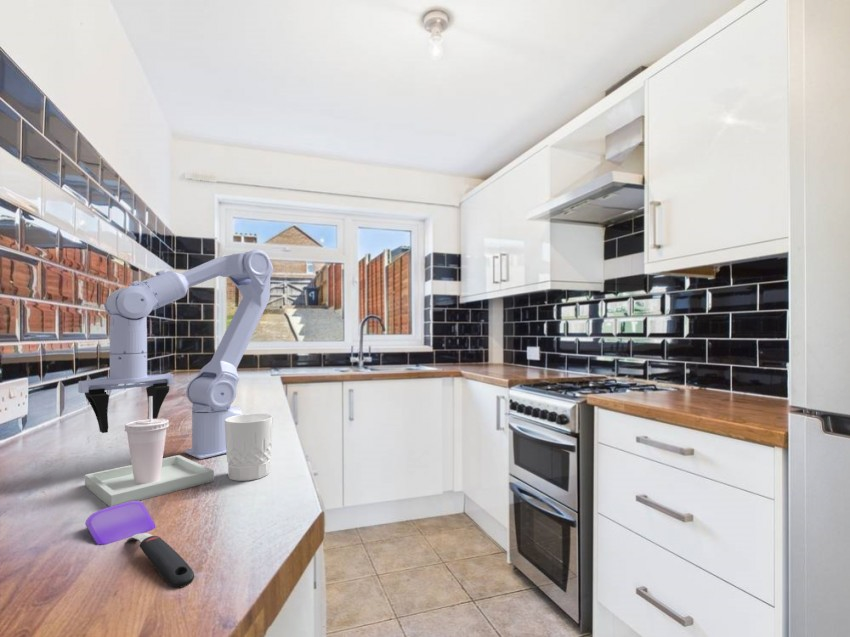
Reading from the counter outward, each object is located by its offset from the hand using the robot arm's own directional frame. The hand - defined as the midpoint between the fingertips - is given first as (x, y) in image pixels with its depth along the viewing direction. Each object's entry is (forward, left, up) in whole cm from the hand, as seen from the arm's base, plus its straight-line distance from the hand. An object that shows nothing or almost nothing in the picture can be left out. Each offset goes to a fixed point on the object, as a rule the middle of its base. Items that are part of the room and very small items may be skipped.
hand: (128, 428), depth 82 cm
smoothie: (0, +10, -8) cm, 12 cm away
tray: (0, +10, -8) cm, 13 cm away
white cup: (-13, +19, -8) cm, 25 cm away
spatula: (+9, +35, -8) cm, 37 cm away
